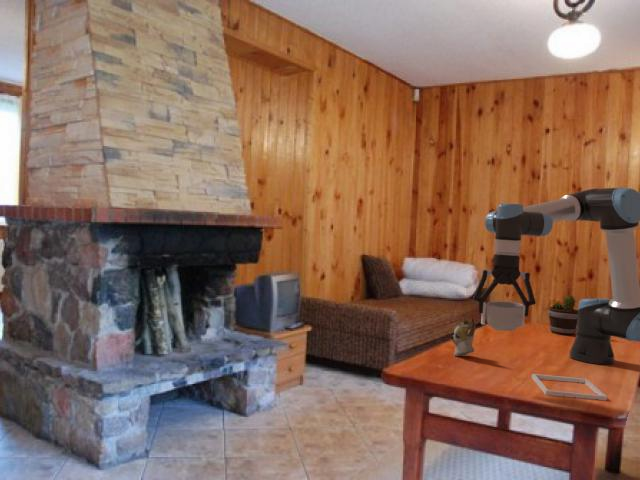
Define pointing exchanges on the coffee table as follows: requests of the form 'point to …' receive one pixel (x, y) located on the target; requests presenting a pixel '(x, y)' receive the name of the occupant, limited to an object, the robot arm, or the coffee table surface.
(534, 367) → the coffee table surface
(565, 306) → the flowerpot
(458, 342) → the ceramic sculpture
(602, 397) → the grey square frame
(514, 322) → the teacup
